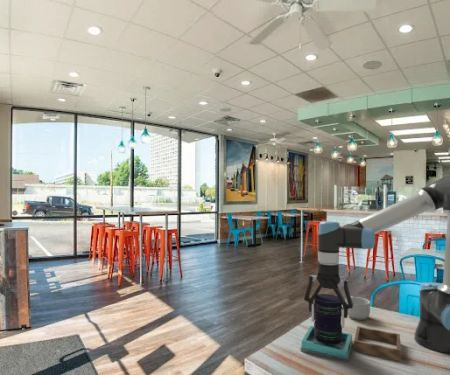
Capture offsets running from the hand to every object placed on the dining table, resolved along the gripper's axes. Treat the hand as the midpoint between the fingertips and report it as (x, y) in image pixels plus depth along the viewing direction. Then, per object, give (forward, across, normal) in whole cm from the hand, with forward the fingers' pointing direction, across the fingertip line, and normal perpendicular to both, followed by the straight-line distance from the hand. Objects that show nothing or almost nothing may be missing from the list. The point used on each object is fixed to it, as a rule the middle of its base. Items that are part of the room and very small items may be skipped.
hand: (327, 323), depth 117 cm
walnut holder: (+9, -16, -10) cm, 21 cm away
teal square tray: (+9, 0, 0) cm, 9 cm away
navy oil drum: (+6, 0, 0) cm, 6 cm away
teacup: (+9, -7, -39) cm, 41 cm away
